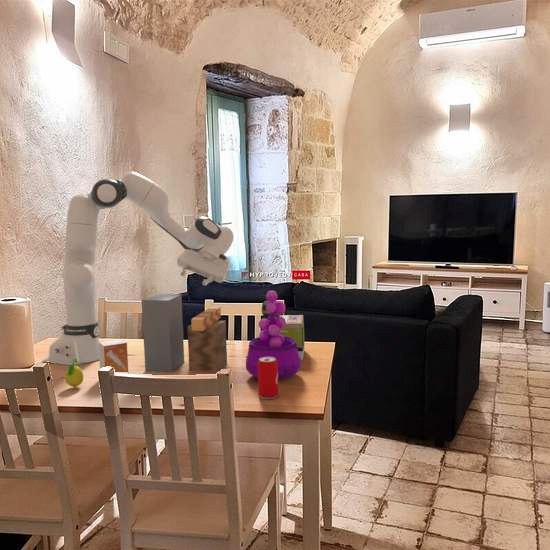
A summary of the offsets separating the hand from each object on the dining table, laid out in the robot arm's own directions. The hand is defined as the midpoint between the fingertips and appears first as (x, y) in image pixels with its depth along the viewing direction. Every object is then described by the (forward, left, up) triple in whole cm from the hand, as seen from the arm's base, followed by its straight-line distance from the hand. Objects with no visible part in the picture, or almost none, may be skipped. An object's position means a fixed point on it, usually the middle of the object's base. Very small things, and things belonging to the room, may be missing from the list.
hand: (193, 279), depth 206 cm
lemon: (-28, -39, -31) cm, 57 cm away
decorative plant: (+35, -20, -31) cm, 50 cm away
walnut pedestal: (+9, -11, -31) cm, 34 cm away
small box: (-19, -29, -31) cm, 47 cm away
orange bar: (+9, -11, -15) cm, 20 cm away
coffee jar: (+27, +23, -31) cm, 47 cm away
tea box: (+37, +7, -31) cm, 48 cm away
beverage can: (+37, -39, -31) cm, 62 cm away
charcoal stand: (-7, -13, -31) cm, 34 cm away
